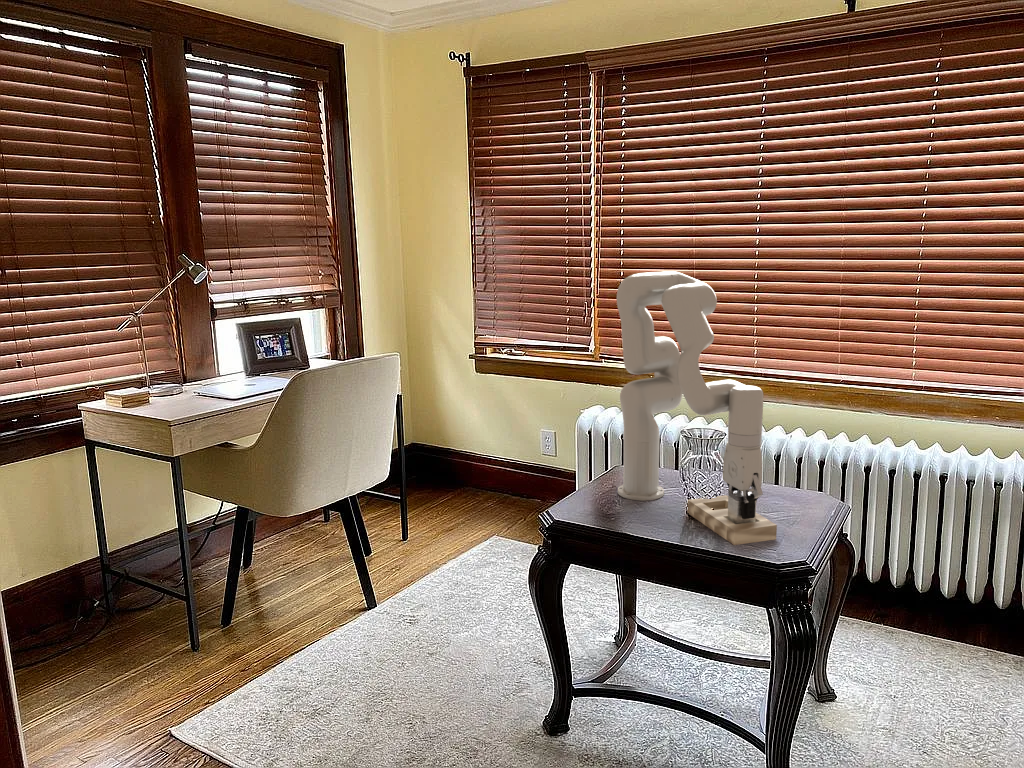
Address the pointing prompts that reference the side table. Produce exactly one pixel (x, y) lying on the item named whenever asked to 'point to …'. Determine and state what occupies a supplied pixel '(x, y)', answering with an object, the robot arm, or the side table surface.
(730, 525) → the tan cinder block
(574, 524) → the side table surface
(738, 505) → the white rectangular block
